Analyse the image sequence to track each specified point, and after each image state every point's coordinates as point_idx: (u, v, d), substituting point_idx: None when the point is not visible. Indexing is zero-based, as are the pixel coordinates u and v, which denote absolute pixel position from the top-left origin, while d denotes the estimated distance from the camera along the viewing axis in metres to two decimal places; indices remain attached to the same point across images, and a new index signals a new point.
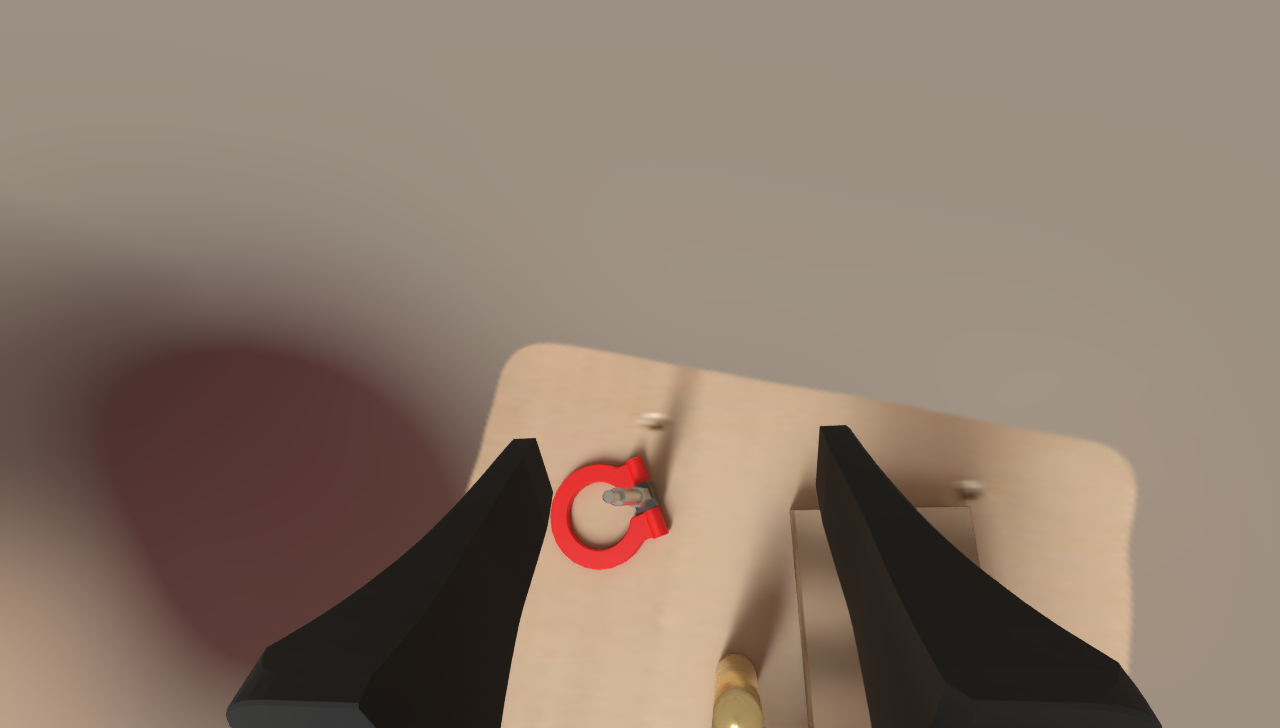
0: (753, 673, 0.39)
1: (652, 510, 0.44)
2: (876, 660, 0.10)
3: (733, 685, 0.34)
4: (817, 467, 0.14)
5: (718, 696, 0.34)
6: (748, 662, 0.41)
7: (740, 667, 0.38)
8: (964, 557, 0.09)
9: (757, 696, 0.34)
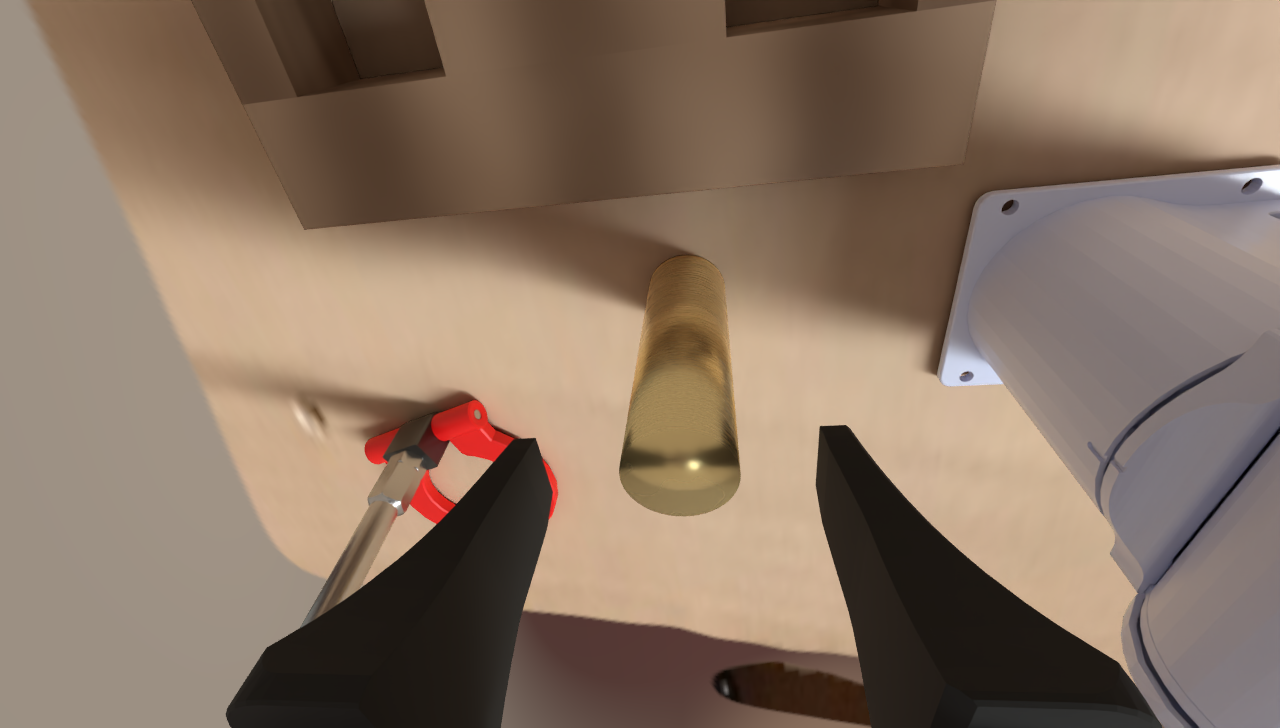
0: (658, 293, 0.19)
1: (436, 433, 0.26)
2: (876, 660, 0.10)
3: None
4: (817, 467, 0.14)
5: None
6: (653, 281, 0.21)
7: None
8: (964, 557, 0.09)
9: (651, 367, 0.15)
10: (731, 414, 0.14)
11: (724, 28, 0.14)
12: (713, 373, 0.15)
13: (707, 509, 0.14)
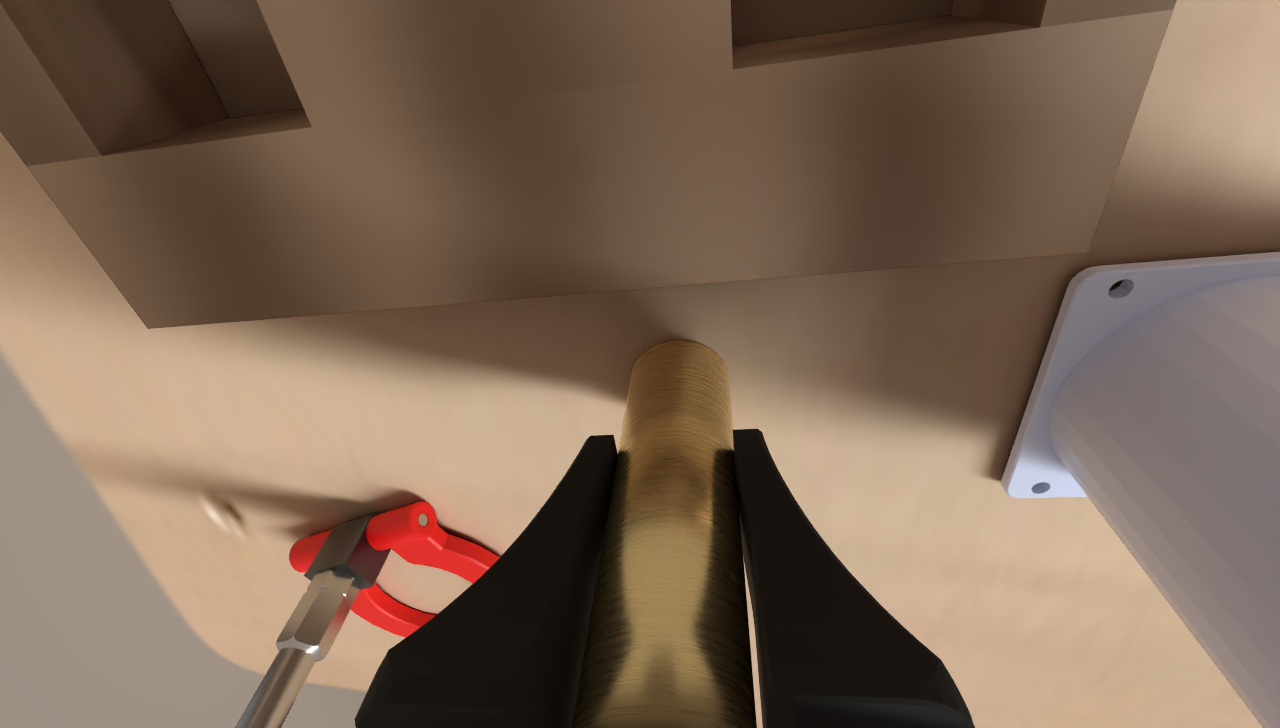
0: (640, 402, 0.14)
1: (372, 544, 0.21)
2: (760, 658, 0.10)
3: None
4: None
5: None
6: (635, 376, 0.16)
7: None
8: (833, 558, 0.09)
9: (624, 551, 0.10)
10: (743, 642, 0.09)
11: (729, 55, 0.09)
12: (716, 565, 0.10)
13: None
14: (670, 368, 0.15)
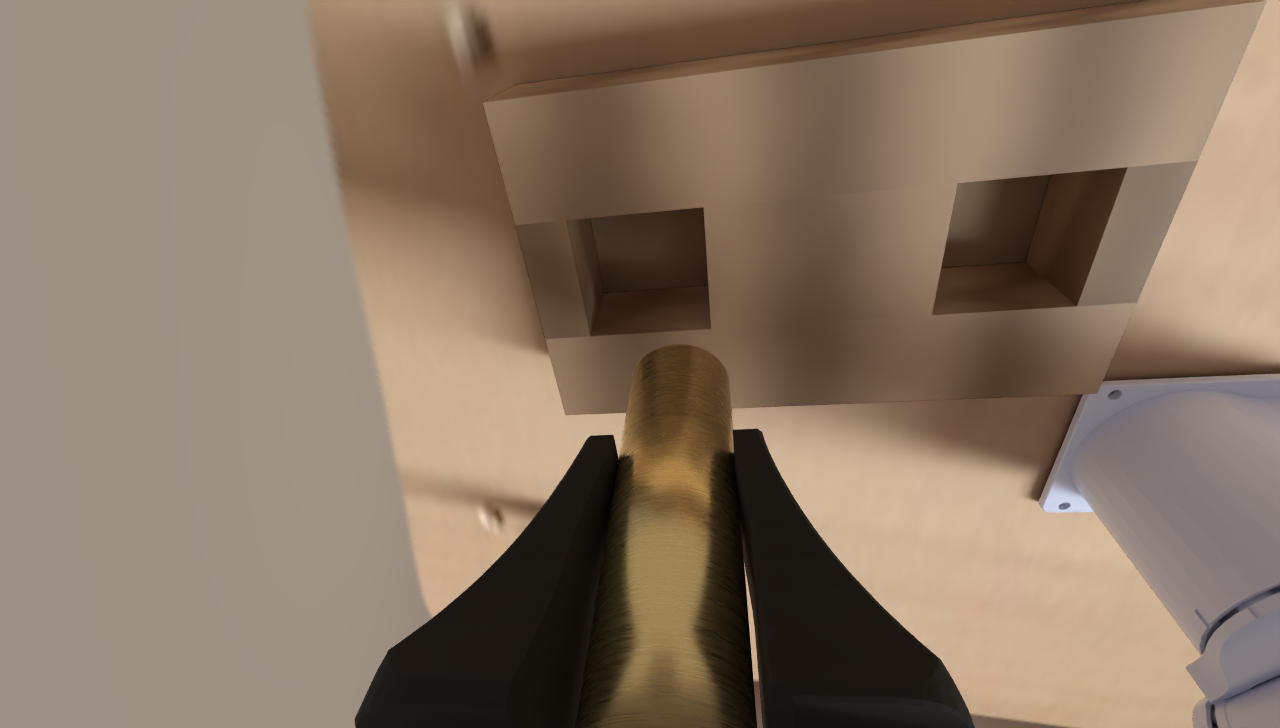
0: (639, 408, 0.14)
1: None
2: (760, 658, 0.10)
3: None
4: None
5: None
6: (635, 382, 0.16)
7: None
8: (833, 558, 0.09)
9: (622, 558, 0.10)
10: (742, 645, 0.09)
11: (931, 309, 0.19)
12: (713, 569, 0.10)
13: None
14: (668, 373, 0.15)
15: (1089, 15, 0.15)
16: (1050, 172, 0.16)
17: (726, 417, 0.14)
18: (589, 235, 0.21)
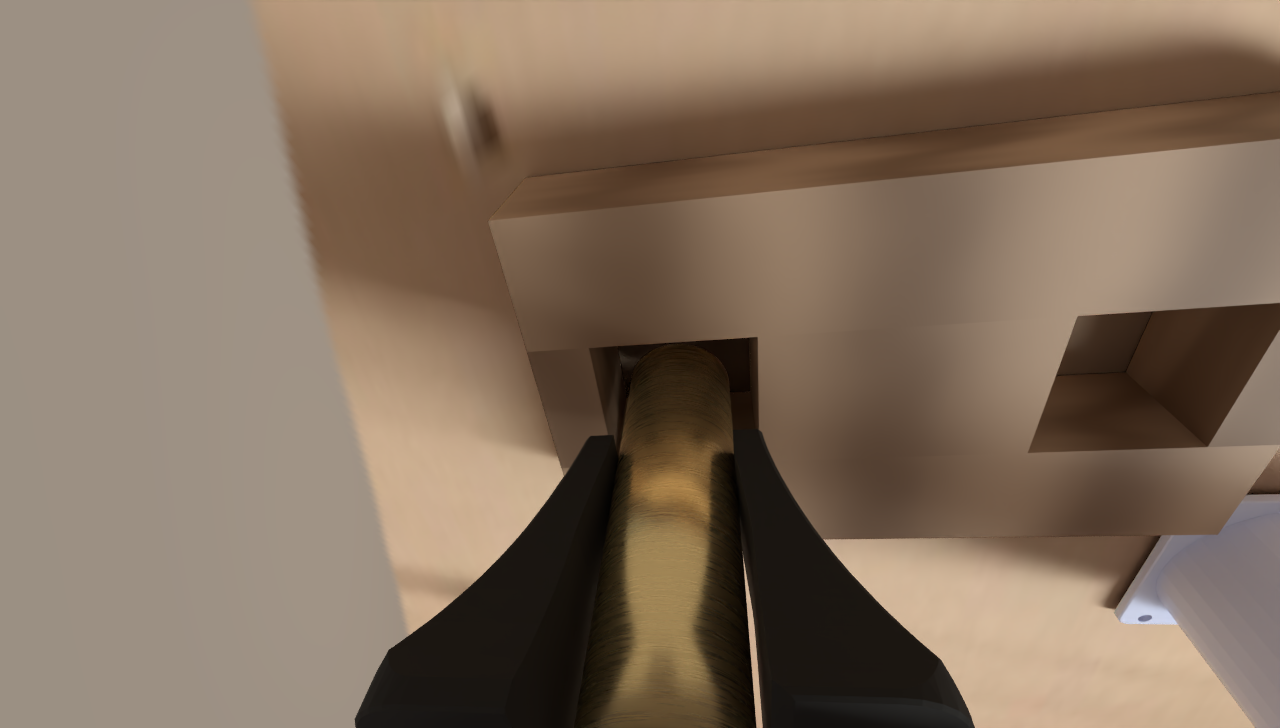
0: (639, 408, 0.14)
1: None
2: (760, 658, 0.10)
3: None
4: None
5: None
6: (634, 382, 0.16)
7: None
8: (833, 558, 0.09)
9: (621, 557, 0.10)
10: (741, 645, 0.09)
11: (1027, 446, 0.15)
12: (713, 569, 0.10)
13: None
14: (668, 372, 0.15)
15: (1256, 117, 0.12)
16: (1194, 304, 0.13)
17: (725, 417, 0.14)
18: None
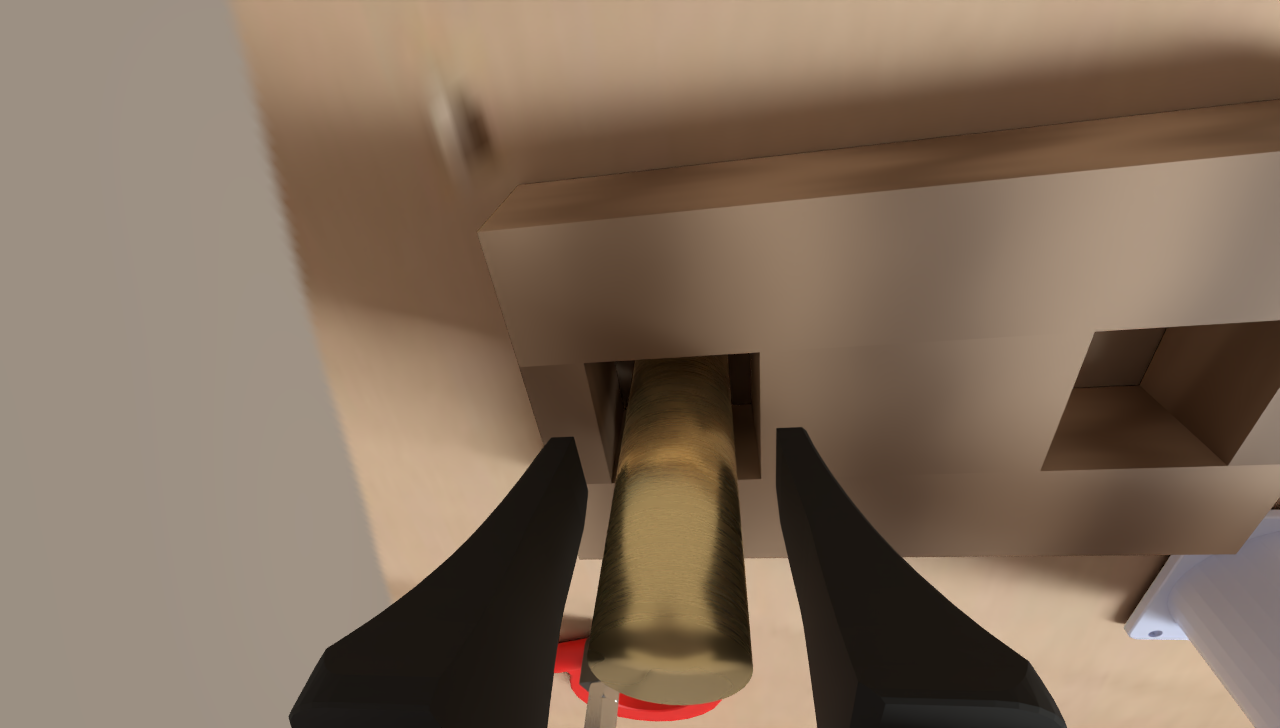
0: (644, 373, 0.15)
1: None
2: (818, 659, 0.10)
3: None
4: (776, 468, 0.14)
5: None
6: None
7: None
8: (898, 558, 0.09)
9: (631, 496, 0.12)
10: (737, 567, 0.11)
11: (1039, 465, 0.15)
12: (712, 504, 0.11)
13: (710, 699, 0.10)
14: None
15: None
16: (1217, 319, 0.12)
17: (724, 382, 0.16)
18: None
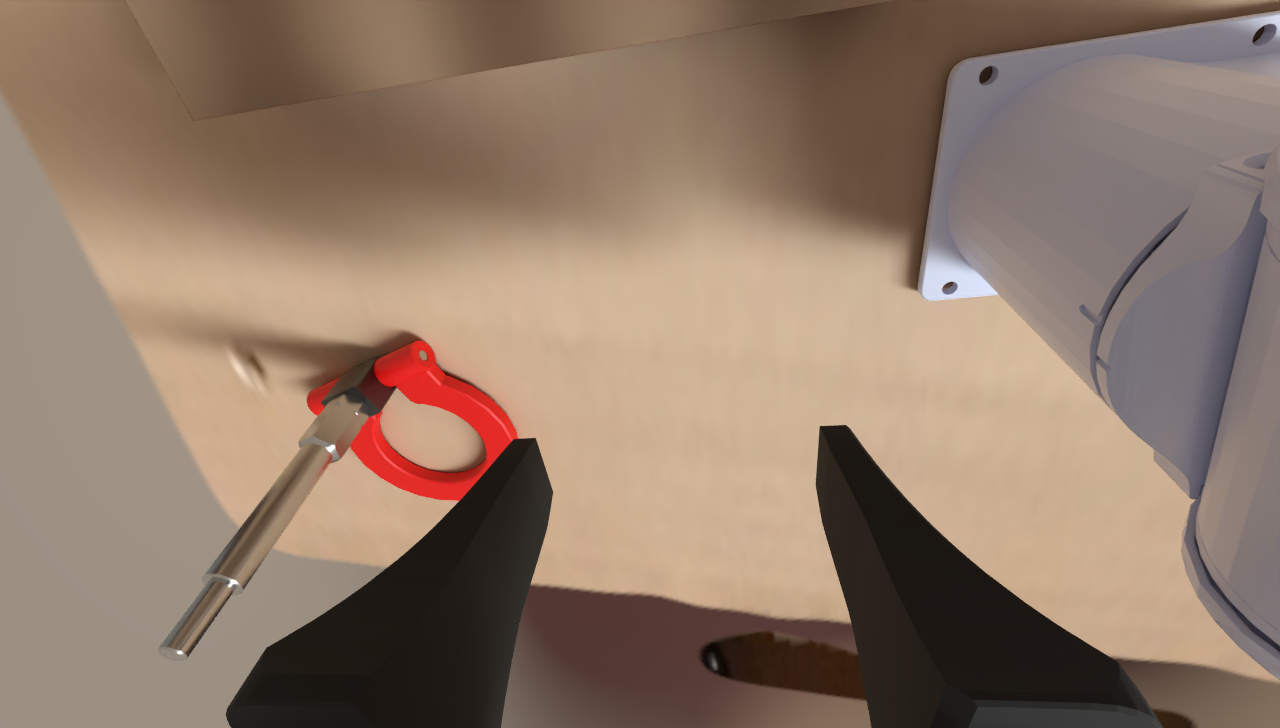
0: None
1: (380, 377, 0.24)
2: (876, 660, 0.10)
3: None
4: (817, 467, 0.14)
5: None
6: None
7: None
8: (964, 557, 0.09)
9: None
10: None
11: None
12: None
13: None
14: None
15: None
16: None
17: None
18: None
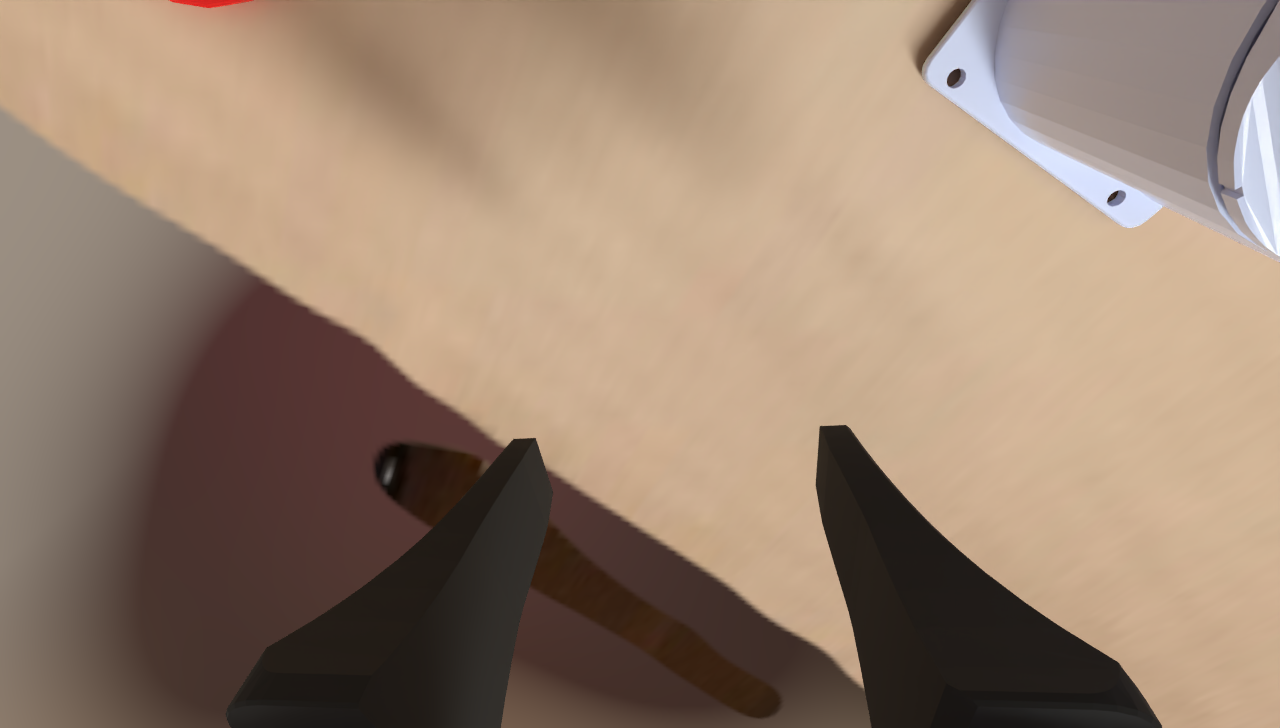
0: None
1: None
2: (876, 660, 0.10)
3: None
4: (817, 467, 0.14)
5: None
6: None
7: None
8: (964, 557, 0.09)
9: None
10: None
11: None
12: None
13: None
14: None
15: None
16: None
17: None
18: None
